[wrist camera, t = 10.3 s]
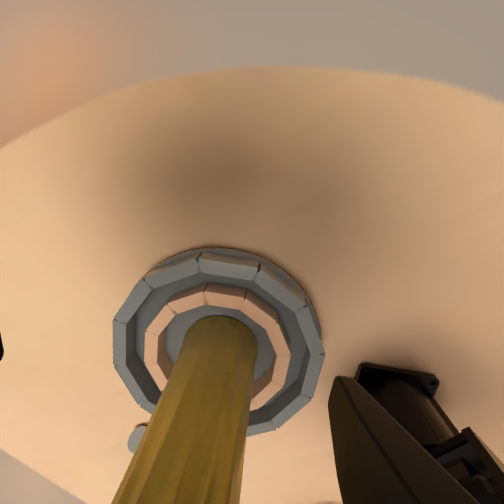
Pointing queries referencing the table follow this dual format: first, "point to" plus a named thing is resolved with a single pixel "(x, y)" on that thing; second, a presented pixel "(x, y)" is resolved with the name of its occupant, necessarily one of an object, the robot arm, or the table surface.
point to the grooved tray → (228, 305)
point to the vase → (198, 422)
